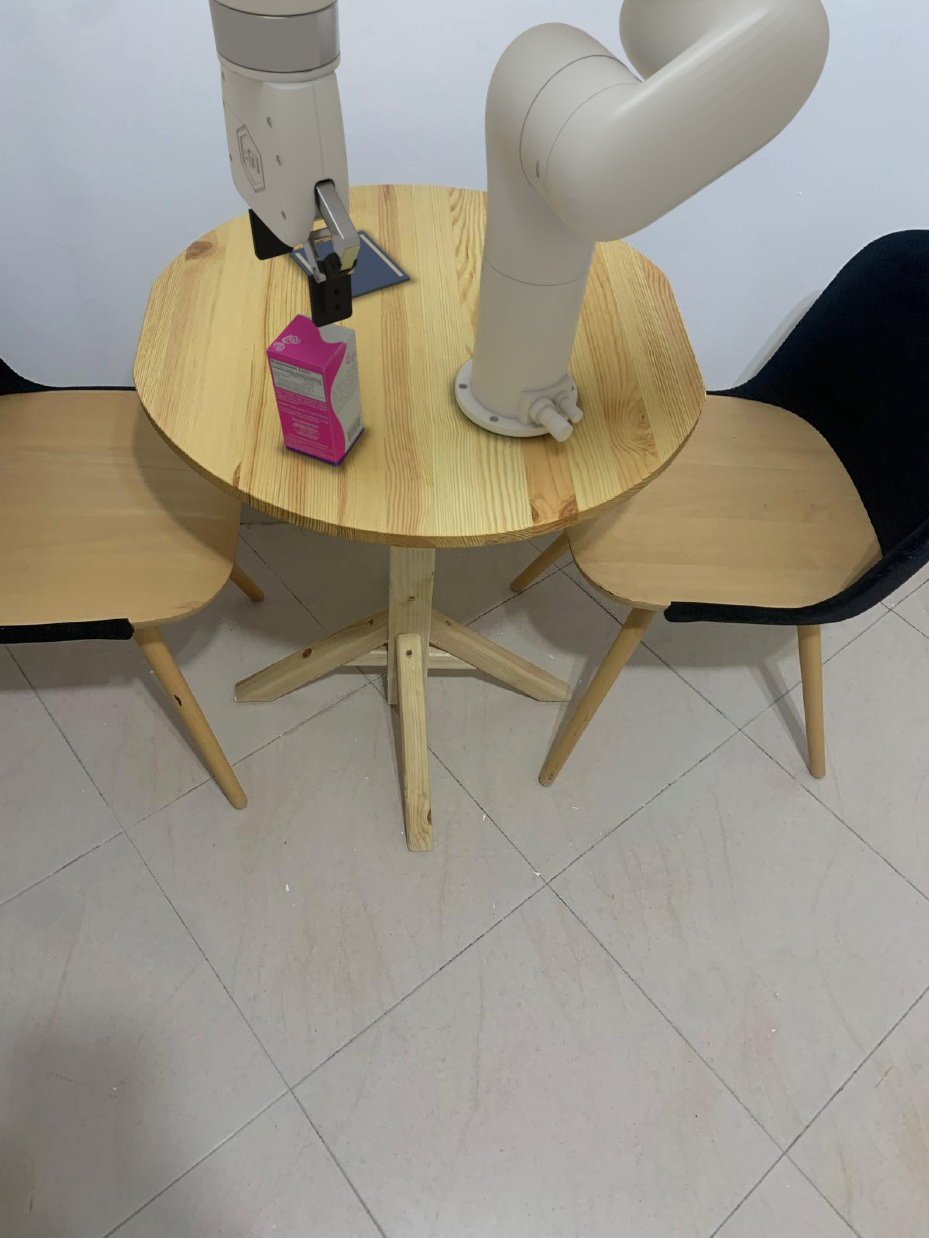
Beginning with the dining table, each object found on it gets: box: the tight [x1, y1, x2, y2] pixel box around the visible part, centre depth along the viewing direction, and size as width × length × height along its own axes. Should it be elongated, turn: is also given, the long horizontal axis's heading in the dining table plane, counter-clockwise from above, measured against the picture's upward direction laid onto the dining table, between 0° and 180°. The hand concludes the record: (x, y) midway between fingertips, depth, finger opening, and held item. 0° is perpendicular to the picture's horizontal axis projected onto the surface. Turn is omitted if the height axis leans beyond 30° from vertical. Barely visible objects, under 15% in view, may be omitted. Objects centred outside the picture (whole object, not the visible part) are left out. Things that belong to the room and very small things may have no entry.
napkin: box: [288, 230, 411, 299], centre depth 90 cm, size 11×10×1 cm
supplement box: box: [265, 313, 365, 468], centre depth 70 cm, size 6×6×12 cm
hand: (302, 286), depth 61 cm, fingers open, 9 cm apart
